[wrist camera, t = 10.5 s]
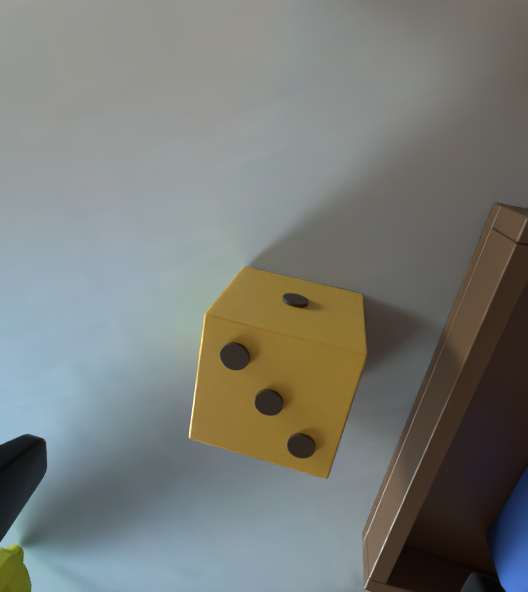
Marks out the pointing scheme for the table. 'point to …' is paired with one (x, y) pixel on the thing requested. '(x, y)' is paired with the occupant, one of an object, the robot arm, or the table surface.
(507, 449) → the tray
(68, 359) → the table surface
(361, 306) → the ochre die
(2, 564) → the lemon
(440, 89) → the table surface
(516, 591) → the blue die
